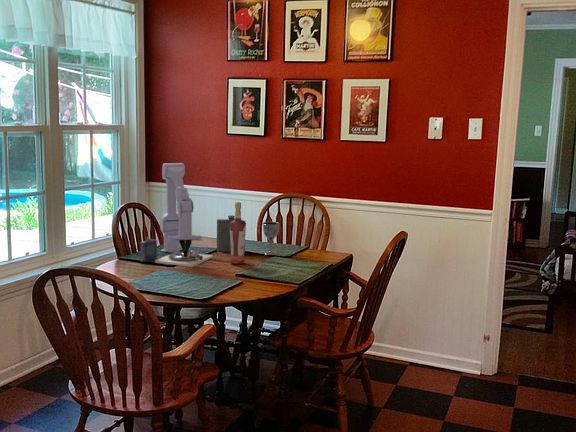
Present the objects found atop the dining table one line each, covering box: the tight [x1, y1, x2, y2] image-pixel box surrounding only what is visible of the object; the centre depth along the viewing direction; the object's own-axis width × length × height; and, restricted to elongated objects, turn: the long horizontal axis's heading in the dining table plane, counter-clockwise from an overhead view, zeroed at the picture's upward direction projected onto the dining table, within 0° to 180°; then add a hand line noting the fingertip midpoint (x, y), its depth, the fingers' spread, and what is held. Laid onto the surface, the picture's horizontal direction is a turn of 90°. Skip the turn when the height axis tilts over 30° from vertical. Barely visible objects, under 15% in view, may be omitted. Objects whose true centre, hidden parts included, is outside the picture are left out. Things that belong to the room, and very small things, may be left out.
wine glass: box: [262, 221, 280, 256], centre depth 298 cm, size 8×8×15 cm
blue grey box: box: [139, 236, 158, 263], centre depth 279 cm, size 9×3×11 cm, turn 146°
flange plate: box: [168, 250, 200, 261], centre depth 280 cm, size 16×14×4 cm
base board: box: [154, 251, 214, 268], centre depth 281 cm, size 20×19×3 cm
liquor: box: [229, 201, 247, 266], centre depth 275 cm, size 7×7×28 cm
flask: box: [216, 214, 246, 254], centre depth 299 cm, size 4×14×18 cm, turn 79°
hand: (185, 256), depth 276 cm, fingers closed
